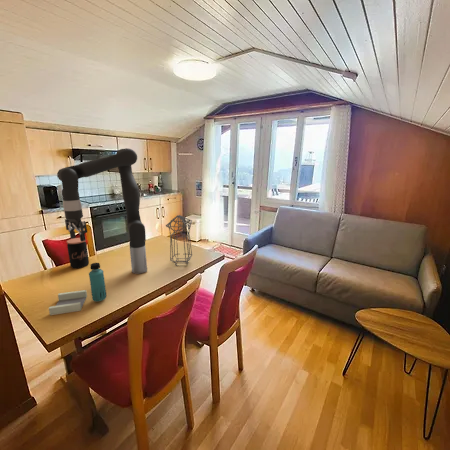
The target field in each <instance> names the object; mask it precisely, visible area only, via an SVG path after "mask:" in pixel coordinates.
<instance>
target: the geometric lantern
mask: <svg viewBox="0 0 450 450" xmlns="http://www.w3.org/2000/svg"><path fill="white" fill-rule="evenodd" d="M172 223H174V225H172ZM182 223H183V224H182ZM192 223H193V220H191V219H189V218H187V217H185V216H183V215H181V214H178V215H176V216H174V218H172V219H171V220H170V221H169V222H168V223H167V224H165V227H166V228H168V229H169V236H170V238H169V239H170V241H169V242H170V243H169V244H170V245H169V247H170V248H169V249H170V250H169V251H170V253H169V254H170V255H169V257H170V261H169V262H172V263H174V264H175V265H176V266H175V267H180V266H179V265H178V263H189V262H188V261H191V259H192V257H193V251H192V245H191V244H192V243H191V237H190V233H191V225H192ZM176 224H177V226H176ZM176 228H177V229H176ZM187 228H188V229H187ZM175 229H176V230H175ZM183 229H185V231H186V235H185V236H184V234H183V232H182V231H181V230H183ZM171 230H172V231H173V232H171ZM178 232H179V233H180V235H182V238H183V248H184V249H183V251H184V257H182V258H180V257H179V252H178V251H179V250H178V249H179V248H178V244H175V243H176V242H175V240H178V238H181V236H178ZM175 233H176V235H175ZM185 239H186V240H185ZM172 245H173V246H172ZM175 246H176V247H175ZM175 248H176V250H175ZM186 249H187V253H186ZM175 251H176V253H175ZM174 257H175V259H176V260H174ZM176 262H177V263H176Z"/></svg>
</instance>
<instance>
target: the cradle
mask: <svg viewBox="0 0 450 450" xmlns="http://www.w3.org/2000/svg"><path fill="white" fill-rule="evenodd" d="M57 298H58V301H57V303H56V304H55V305H52V306H51V305H50V306H49V307H48V311H49V316H53V315H61V314H68V313H73V312H81V311H82V308H83V306H84V303H85V301H86V300H87V298H88V293H87V289H85V290H84V289H83V290H77V291H76V290H74V291H69V292H66V291H65V292H60V293H59V292H58V294H57Z"/></svg>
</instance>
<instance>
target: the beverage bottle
mask: <svg viewBox="0 0 450 450" xmlns="http://www.w3.org/2000/svg"><path fill="white" fill-rule="evenodd" d="M89 268H90V272H88V277H89V283H90V284H89V285H90V290H91V292H90V293H91V299H92V301H93V302H101V301H104V300H105V299H106V298H107V289H106V282H105V281H106V280H105V275H104V270H103V269H101V263H99V262H93V263H91V264H90V267H89Z"/></svg>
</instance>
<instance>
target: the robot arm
mask: <svg viewBox="0 0 450 450" xmlns="http://www.w3.org/2000/svg"><path fill="white" fill-rule="evenodd" d="M137 161H138V154H137V152H136V151H135V150H133V149H131V148H121V149H119V150H117V151H116V153H115V154H113V155H110V156H106V157H102V158H96V159H92V160H88V161H84V162H82V163H78V164H75V165H71V166H66V167H63V168H62V167H61V168H60V169H59V170H58V171H57V175H56V176H57V178H58V179H59V180H60V181H61V186H62V189H61V197H62V201H63V210H64V211H63V212H64V217H65V219H64V223H65V230H66V231H68V233H69V235H70V239H74V238H77V236H76V231H77V232H78V235H79V238H80V240H81V241H85V240H86V241H87V239H86V233H88V228H87V223H86V221H85V220H83V221H82V218H83V217H84V214H83V207H82V202H81V199H80V197H81V196H80V193H79V180H80V179H81V178H88V177H92V176H95V175H98V174H101V173H103V172H106V171H109V170H113V169H115V168H118V172H119V176H120V177H119V178H120V185H121V192H122V198H123V204H124V207H125V211H126V220H127V221H126V222H127V223H126V224H127V225H126V226H127V230H128V233H129V255H130V264H131V265H130V266H131V267H130V268H131V273H132V274H135V275H137V274H138V275H139V274H144V273H146V272H148V267H147V266H148V265H147V261H148V260H147V252H146V250H147V249H146V240H147V239H146V226H145V224H144V223H142V220H141V216H140V202H141V201H140V200H141V198H140V197H141V196H140V189H139V186H138V183H137V181H136V179H135V177H134V174H133V169H132V168H133V167H132V165H135V163H136V162H137ZM75 230H76V231H75ZM86 241H85V242H86Z"/></svg>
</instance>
